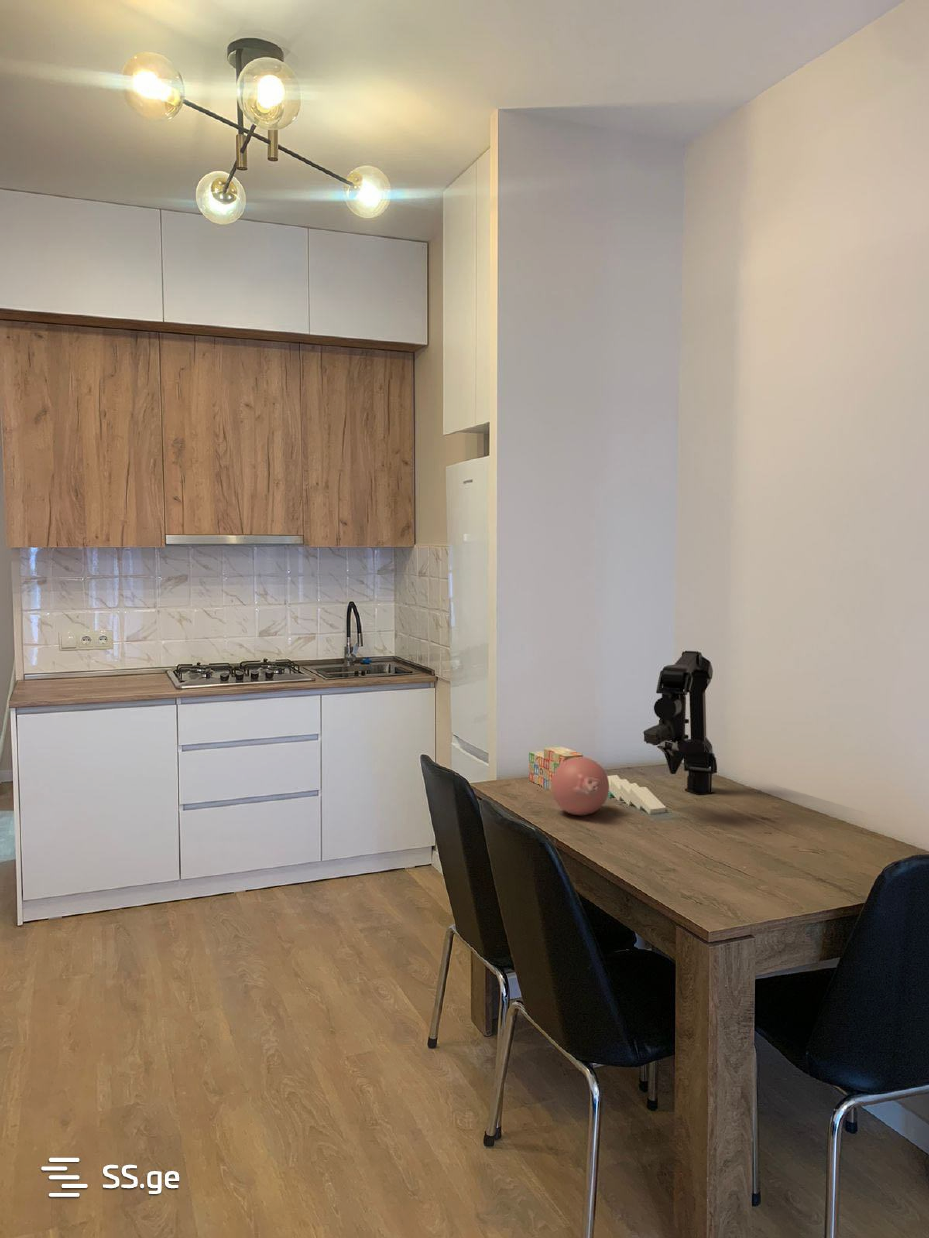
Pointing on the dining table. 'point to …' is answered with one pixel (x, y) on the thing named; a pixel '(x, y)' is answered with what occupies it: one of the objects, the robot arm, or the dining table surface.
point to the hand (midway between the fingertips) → (672, 773)
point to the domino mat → (655, 816)
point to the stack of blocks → (548, 763)
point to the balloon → (580, 786)
